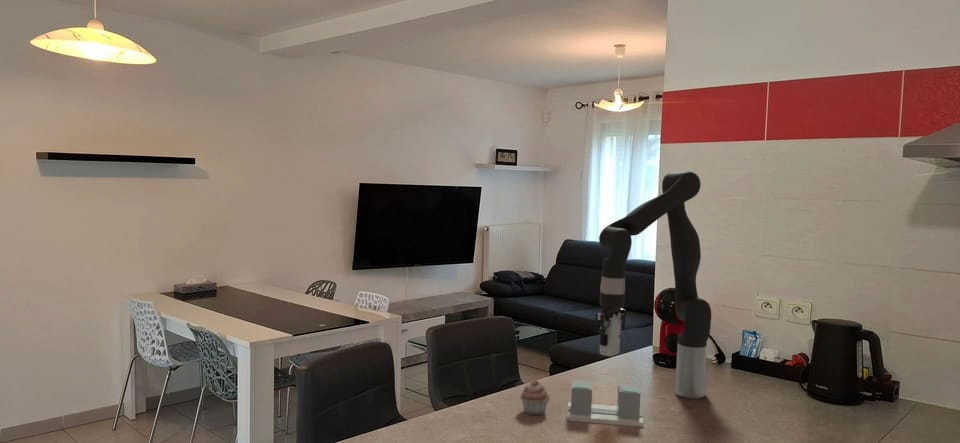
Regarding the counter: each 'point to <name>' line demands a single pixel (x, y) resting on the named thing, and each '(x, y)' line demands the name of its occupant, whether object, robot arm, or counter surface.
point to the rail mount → (618, 415)
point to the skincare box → (612, 338)
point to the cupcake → (534, 398)
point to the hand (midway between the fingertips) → (609, 343)
